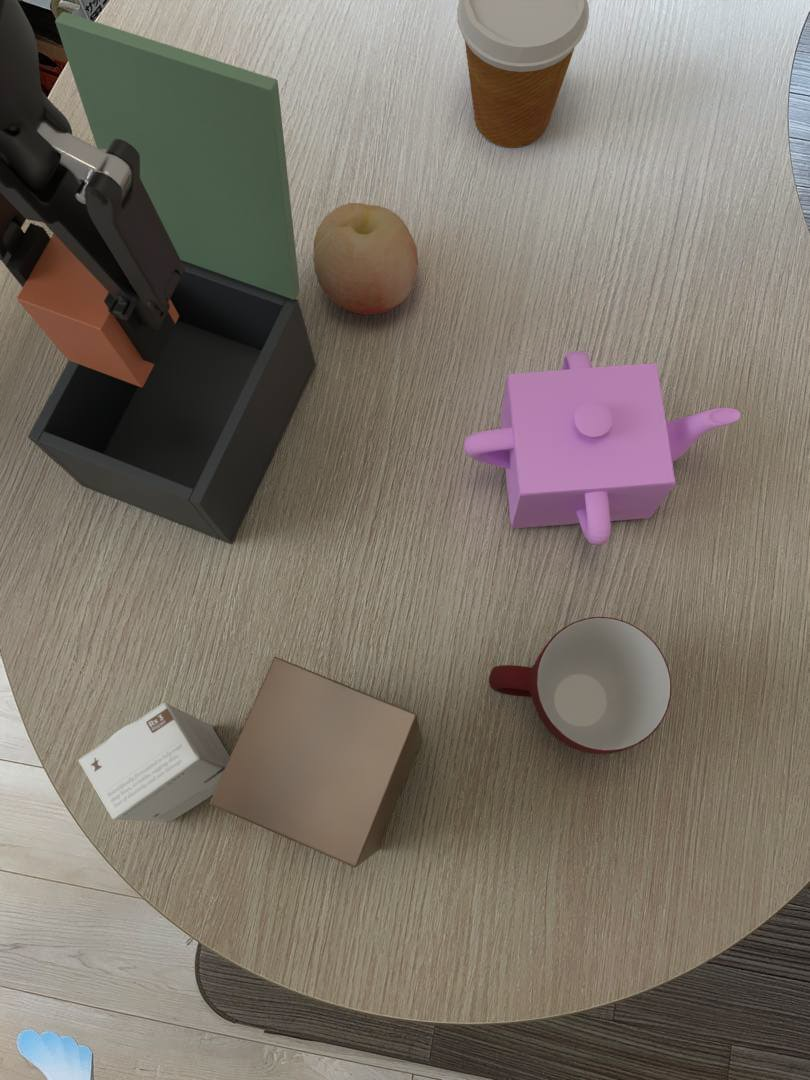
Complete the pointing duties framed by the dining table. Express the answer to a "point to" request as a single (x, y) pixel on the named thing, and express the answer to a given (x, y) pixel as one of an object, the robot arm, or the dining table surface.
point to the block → (81, 316)
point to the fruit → (365, 258)
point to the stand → (319, 763)
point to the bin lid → (194, 147)
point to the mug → (594, 685)
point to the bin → (188, 408)
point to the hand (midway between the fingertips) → (115, 325)
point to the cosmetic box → (157, 766)
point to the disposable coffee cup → (518, 62)
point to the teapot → (588, 444)
